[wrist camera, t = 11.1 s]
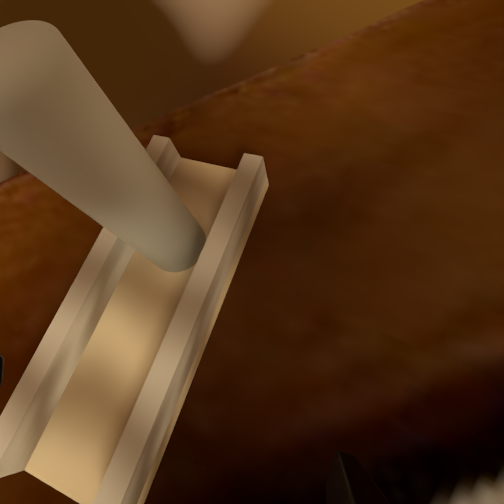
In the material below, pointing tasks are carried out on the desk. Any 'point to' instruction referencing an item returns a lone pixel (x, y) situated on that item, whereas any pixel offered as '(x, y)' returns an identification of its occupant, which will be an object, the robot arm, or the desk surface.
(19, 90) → the beige piece
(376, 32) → the desk surface
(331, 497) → the robot arm
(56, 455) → the sliding track
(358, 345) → the desk surface
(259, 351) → the desk surface
